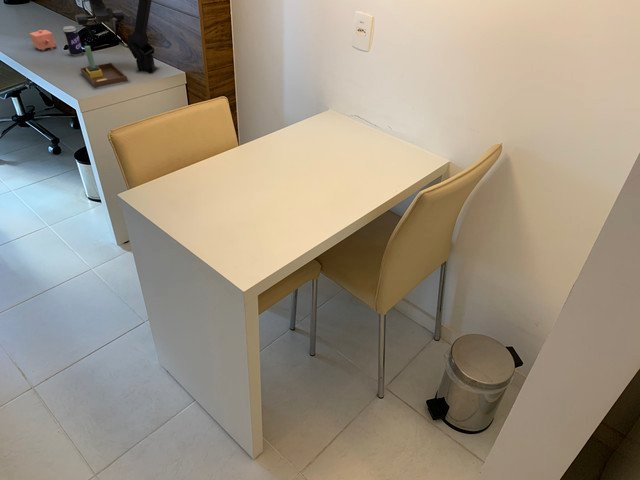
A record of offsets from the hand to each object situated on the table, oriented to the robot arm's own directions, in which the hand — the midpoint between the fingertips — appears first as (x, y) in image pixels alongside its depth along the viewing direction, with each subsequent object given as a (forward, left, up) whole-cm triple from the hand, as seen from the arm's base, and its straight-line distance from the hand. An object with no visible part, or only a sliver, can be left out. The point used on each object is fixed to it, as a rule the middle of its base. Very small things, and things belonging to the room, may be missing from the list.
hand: (105, 38), depth 209 cm
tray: (-3, +14, -12) cm, 19 cm away
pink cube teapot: (+41, -17, -12) cm, 46 cm away
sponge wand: (+2, +13, -11) cm, 17 cm away
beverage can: (+23, -12, -12) cm, 29 cm away
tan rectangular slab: (-6, +21, -11) cm, 24 cm away
